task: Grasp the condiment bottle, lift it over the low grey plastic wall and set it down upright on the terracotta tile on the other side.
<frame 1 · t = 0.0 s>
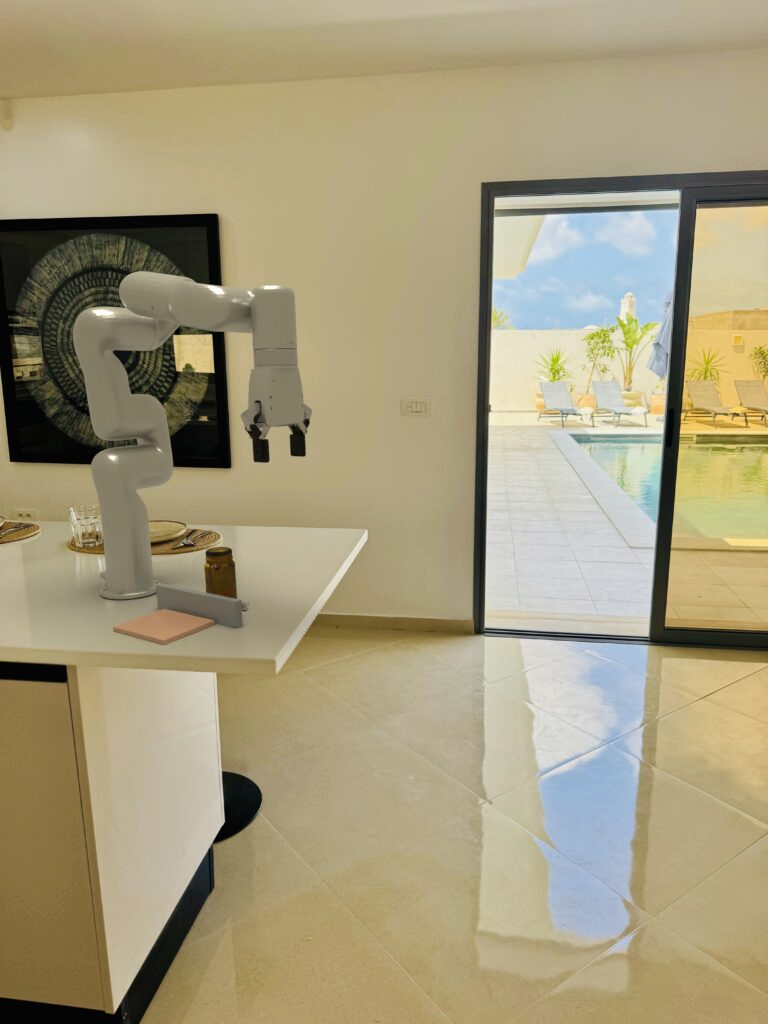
hand: (280, 459, 128), 31 cm above the countertop, fingers open, 9 cm apart
condiment: (226, 607, 146), on the countertop
tile pad: (164, 627, 134), on the countertop
low wall: (198, 616, 140), on the countertop
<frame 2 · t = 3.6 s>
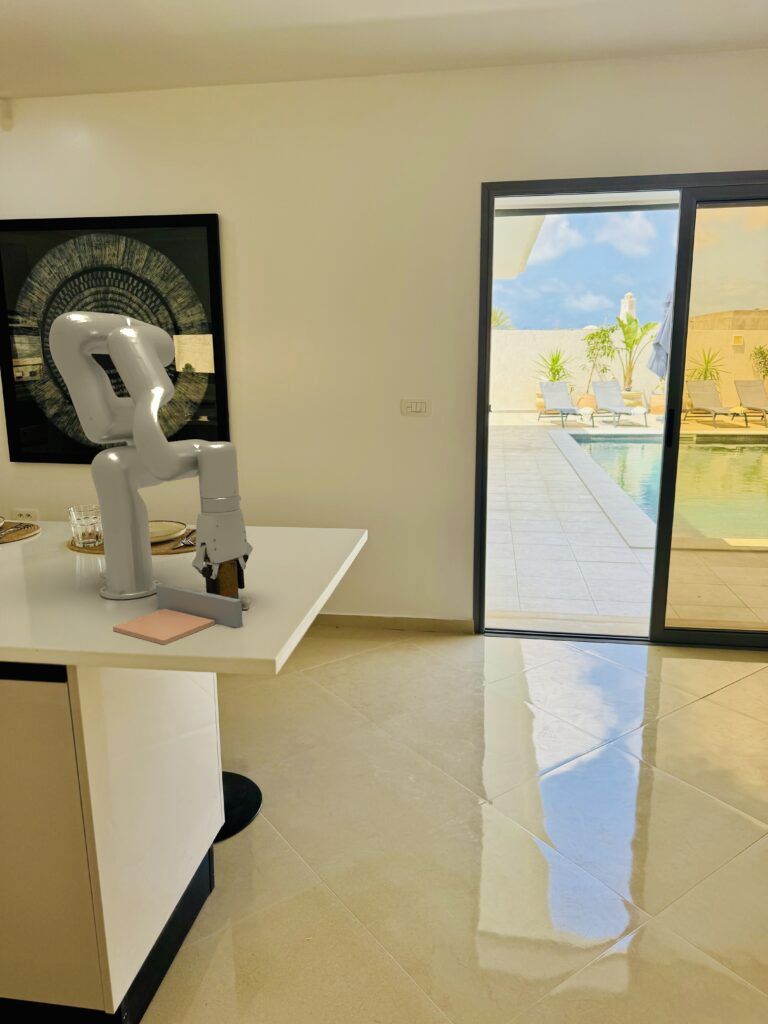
hand: (225, 591, 146), 3 cm above the countertop, fingers closed on condiment, 6 cm apart
condiment: (228, 607, 147), on the countertop, touching gripper
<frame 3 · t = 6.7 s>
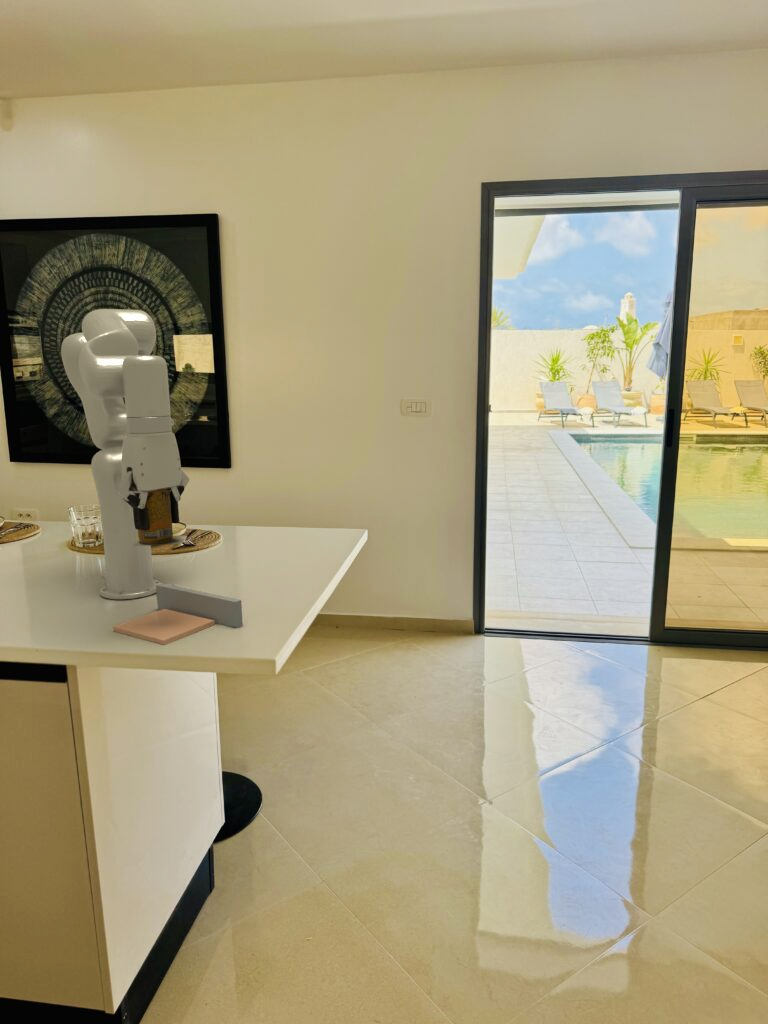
hand: (157, 525, 131), 20 cm above the countertop, fingers closed on condiment, 6 cm apart
condiment: (161, 542, 132), point 16 cm above the countertop, touching gripper
when the fingers open (5 cm above the countertop, at t = 9.8 s): condiment drops 1 cm, resting on tile pad.
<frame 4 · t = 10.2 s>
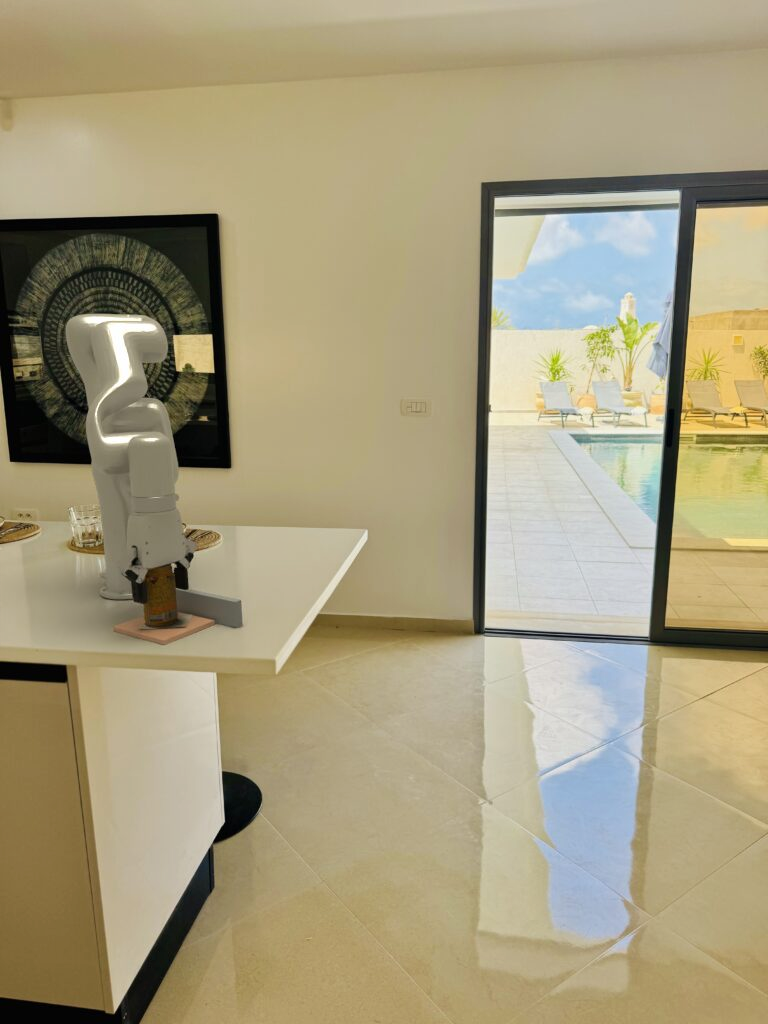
hand: (161, 595, 133), 6 cm above the countertop, fingers open, 9 cm apart
condiment: (166, 623, 135), point 1 cm above the countertop, touching tile pad
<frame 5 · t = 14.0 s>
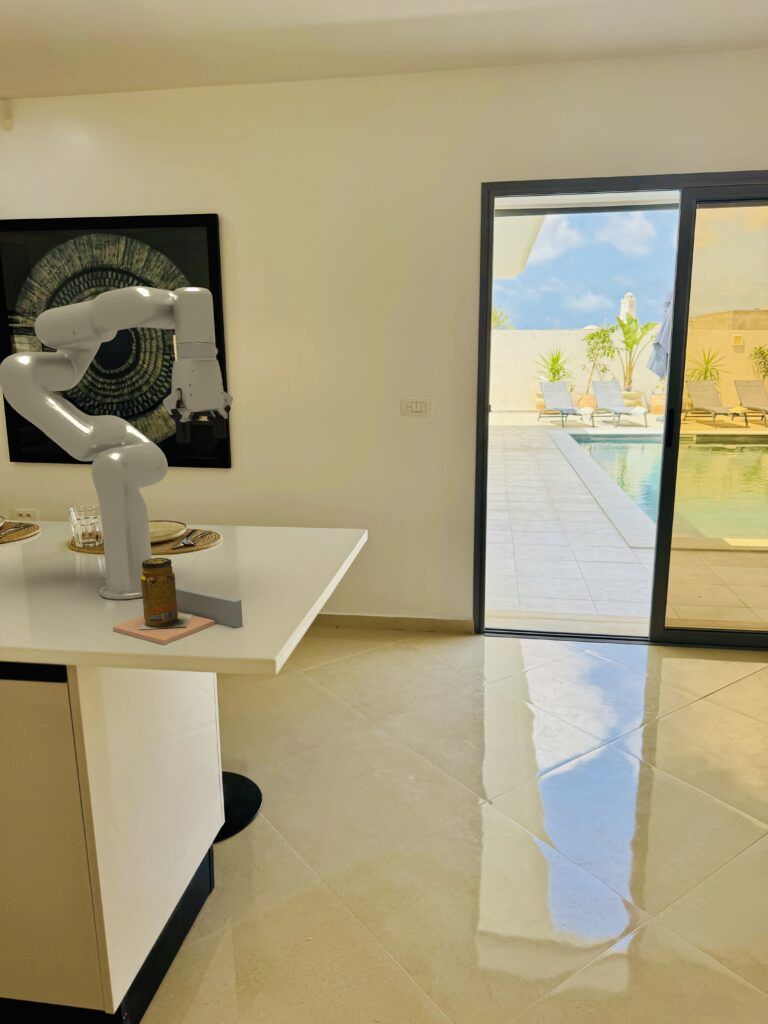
hand: (202, 440, 145), 33 cm above the countertop, fingers open, 9 cm apart
nothing on the countertop moved.
at the end: condiment inside the target area on the tile pad (0.6 cm from its centre), point 0.6 cm above the tile pad's base; condiment tilted 0°; the gripper is holding nothing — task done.
